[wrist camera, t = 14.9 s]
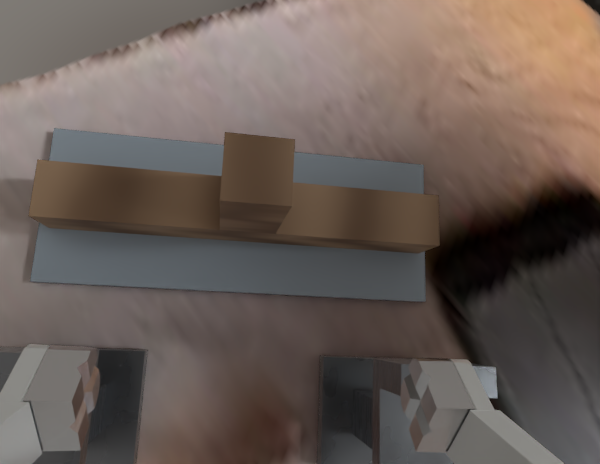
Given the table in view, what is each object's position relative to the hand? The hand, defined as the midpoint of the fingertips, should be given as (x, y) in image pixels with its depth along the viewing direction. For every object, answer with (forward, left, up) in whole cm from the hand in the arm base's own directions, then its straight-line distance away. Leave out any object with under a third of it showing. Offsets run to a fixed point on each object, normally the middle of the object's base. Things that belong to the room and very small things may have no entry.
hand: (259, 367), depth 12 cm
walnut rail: (0, -8, -15) cm, 17 cm away
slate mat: (0, -8, -16) cm, 18 cm away
